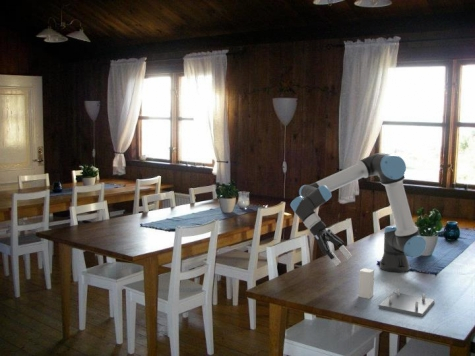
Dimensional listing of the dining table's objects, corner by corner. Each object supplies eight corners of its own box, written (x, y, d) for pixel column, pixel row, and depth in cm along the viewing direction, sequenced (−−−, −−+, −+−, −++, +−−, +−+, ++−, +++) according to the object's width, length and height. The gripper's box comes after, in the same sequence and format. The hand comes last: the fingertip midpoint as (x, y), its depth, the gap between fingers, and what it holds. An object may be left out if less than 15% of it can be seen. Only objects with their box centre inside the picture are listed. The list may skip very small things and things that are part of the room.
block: (362, 293, 247) (363, 268, 246) (373, 295, 245) (374, 269, 243) (358, 296, 243) (359, 270, 242) (369, 298, 241) (370, 272, 239)
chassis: (393, 295, 245) (393, 285, 245) (434, 302, 235) (434, 292, 235) (378, 308, 229) (379, 298, 228) (422, 317, 219) (422, 306, 218)
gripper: (321, 225, 267) (348, 259, 260) (298, 234, 246) (327, 271, 240) (331, 215, 263) (359, 250, 257) (308, 224, 242) (339, 262, 236)
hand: (344, 260), depth 248 cm, fingers open, 13 cm apart
